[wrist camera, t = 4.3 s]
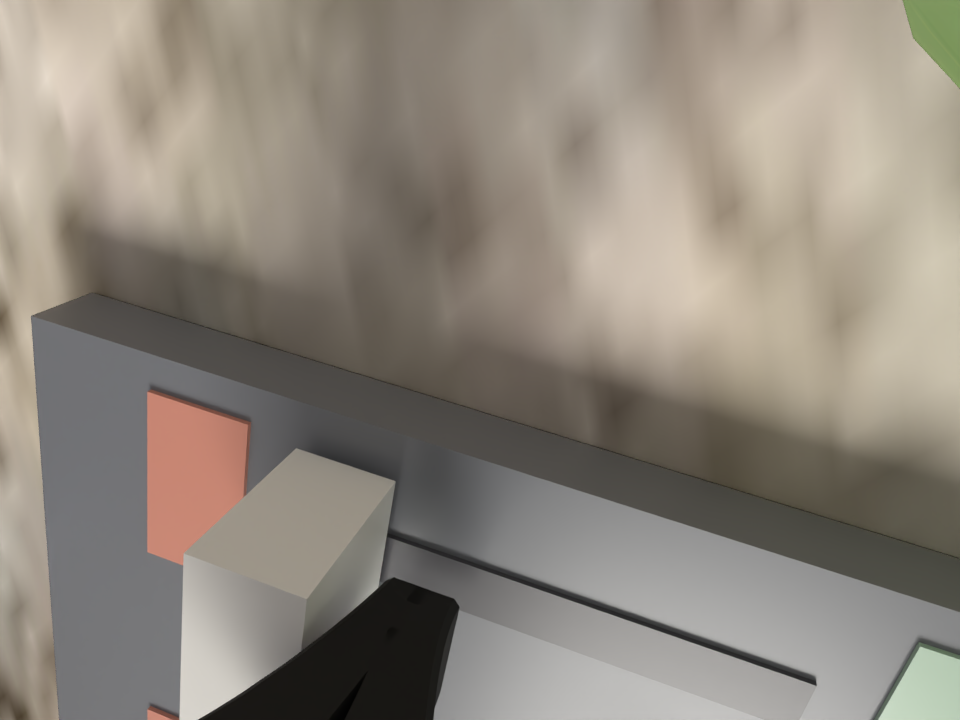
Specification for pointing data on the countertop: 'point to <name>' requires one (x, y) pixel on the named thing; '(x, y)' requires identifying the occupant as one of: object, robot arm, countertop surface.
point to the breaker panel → (464, 544)
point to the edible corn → (937, 32)
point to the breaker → (278, 574)
